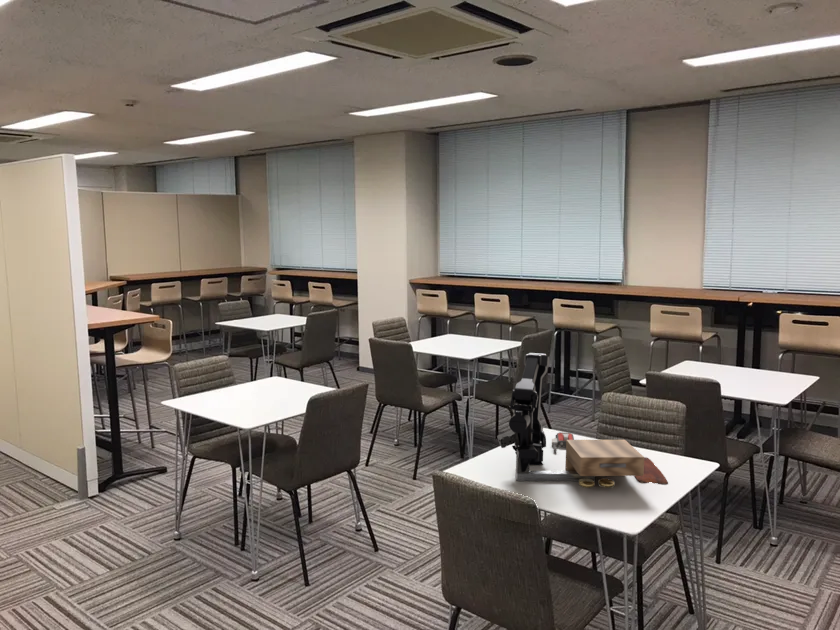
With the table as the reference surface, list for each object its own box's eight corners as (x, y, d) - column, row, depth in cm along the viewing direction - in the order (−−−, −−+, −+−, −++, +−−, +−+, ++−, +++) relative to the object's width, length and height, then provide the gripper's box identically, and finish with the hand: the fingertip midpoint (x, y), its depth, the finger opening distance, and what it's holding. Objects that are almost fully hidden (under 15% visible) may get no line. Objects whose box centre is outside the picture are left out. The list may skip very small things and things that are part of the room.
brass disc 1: (581, 488, 211) (581, 484, 211) (576, 482, 216) (576, 478, 216) (596, 488, 211) (596, 484, 211) (591, 482, 216) (591, 478, 216)
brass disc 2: (601, 488, 211) (601, 484, 211) (596, 482, 216) (596, 478, 216) (616, 488, 212) (616, 483, 211) (611, 482, 217) (611, 478, 216)
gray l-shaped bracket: (517, 480, 216) (517, 457, 216) (515, 477, 219) (516, 454, 219) (594, 480, 217) (596, 457, 216) (592, 477, 220) (593, 454, 219)
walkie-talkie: (550, 438, 264) (552, 454, 245) (551, 427, 264) (552, 443, 244) (573, 439, 263) (576, 456, 243) (573, 429, 262) (576, 444, 243)
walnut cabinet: (580, 495, 205) (581, 458, 203) (565, 473, 224) (566, 439, 222) (643, 495, 206) (645, 458, 204) (623, 473, 224) (624, 439, 223)
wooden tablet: (669, 486, 215) (669, 481, 214) (637, 484, 216) (638, 479, 216) (651, 459, 241) (651, 454, 241) (623, 457, 242) (623, 453, 242)
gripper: (495, 416, 225) (494, 460, 227) (503, 433, 206) (502, 480, 208) (527, 416, 225) (526, 460, 227) (538, 433, 207) (537, 480, 208)
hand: (522, 470), depth 218 cm, fingers closed on gray l-shaped bracket, 2 cm apart
